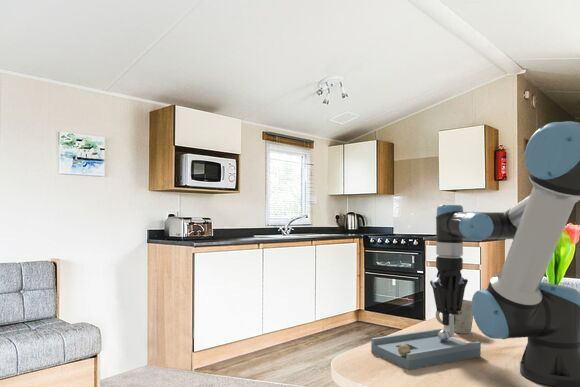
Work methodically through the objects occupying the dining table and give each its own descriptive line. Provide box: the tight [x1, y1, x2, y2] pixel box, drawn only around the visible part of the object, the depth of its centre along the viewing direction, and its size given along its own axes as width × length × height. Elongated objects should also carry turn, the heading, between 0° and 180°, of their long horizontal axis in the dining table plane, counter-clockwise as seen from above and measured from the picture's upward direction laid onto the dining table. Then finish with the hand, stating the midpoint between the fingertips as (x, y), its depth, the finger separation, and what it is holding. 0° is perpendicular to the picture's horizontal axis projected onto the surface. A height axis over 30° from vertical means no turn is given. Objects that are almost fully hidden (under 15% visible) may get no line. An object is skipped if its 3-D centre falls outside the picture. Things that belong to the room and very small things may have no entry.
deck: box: [370, 328, 482, 371], centre depth 135 cm, size 16×26×4 cm, turn 117°
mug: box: [435, 299, 474, 335], centre depth 160 cm, size 8×13×10 cm, turn 79°
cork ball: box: [398, 344, 411, 357], centre depth 125 cm, size 3×3×3 cm
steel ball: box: [438, 329, 449, 342], centre depth 139 cm, size 3×3×3 cm
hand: (448, 335), depth 140 cm, fingers closed
